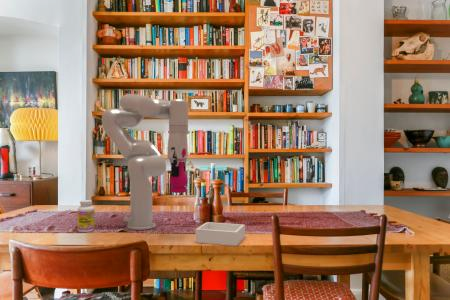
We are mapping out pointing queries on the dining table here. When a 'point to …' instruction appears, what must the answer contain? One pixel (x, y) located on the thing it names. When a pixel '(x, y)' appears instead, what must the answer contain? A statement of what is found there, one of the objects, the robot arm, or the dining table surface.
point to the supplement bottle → (85, 216)
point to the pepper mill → (180, 181)
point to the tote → (220, 233)
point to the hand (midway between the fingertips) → (178, 175)
